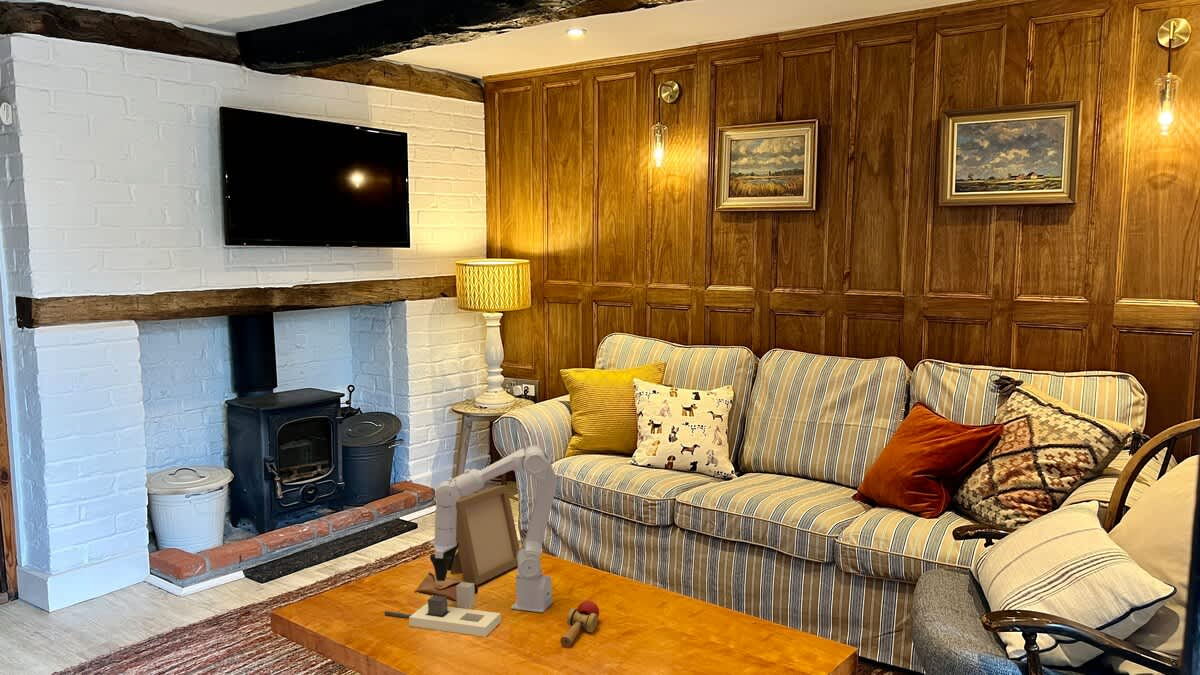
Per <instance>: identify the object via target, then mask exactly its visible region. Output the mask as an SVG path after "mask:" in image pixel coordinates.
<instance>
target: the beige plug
mask: <svg viewBox="0 0 1200 675" xmlns="http://www.w3.org/2000/svg"><path fill="white" fill-rule="evenodd" d="M456 593H457V602H456V607H457V606H458V607H457V608H463V607H466V608H465V609H471V608H473V606H475V605H474V604H476V601H475V599H476V598H475V596H476V594H475V590H474V583H467V582H460V583H459V584H458V585H457V586H456ZM470 607H471V608H470Z"/></svg>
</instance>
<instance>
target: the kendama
mask: <svg viewBox="0 0 1200 675" xmlns="http://www.w3.org/2000/svg"><path fill="white" fill-rule="evenodd" d="M599 616H600V609H599V607H598V604H597V603H595V602H594V601H592V600H584V601H582V602H581V603H579V604H578V606H577V608H573V607H572V608H571V609H570V610H569V612H568V614H567V618H566V625H568V626H569V627H570V628H569V629H568V630H567V631H566V632H565V634H563V636H561V638H560V640H559V642H560V644H561V646H562V647H563V648H570V647H571V646H572V644H573V642H574V640H575V638H576V637H577V635H578V633H579V631H580V629H581V627H582V626H583V627H584V629H585V630H586V632H587V633H591V632H592V631H593V630H594V631H595V629H596V627H597V625H598V618H599ZM594 631H593V632H594ZM593 632H592V633H593Z"/></svg>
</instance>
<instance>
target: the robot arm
mask: <svg viewBox="0 0 1200 675" xmlns="http://www.w3.org/2000/svg"><path fill="white" fill-rule="evenodd" d="M523 469H524V471H525V472H526V473H528V474H529V475H530V476H531V477H533V478H534V479H535V481H536V482H537V483H538V487H537V492H536V495H535V500H534V504H533V508H532V511H531V515H530V519H529V523H528V528H527V530H526V535H525V538H524V540H523V544H522V546H520V547H519V548H520V549H519V551H518V553H517V561H518V565H517V570H516V571H515V589H516V590H515V592H516V593H515V596H516V598H515V599H516V600H515V603H514V604H512V605H511V607H510V609H511V610H512V609H513V610H518V611H527V612H532V613H533V612H534V613H540V614H541V613H544V612H545V611H546V610H547V609H548V608H549V607H550V606H551V605H552V604H553V602H554V600H553V591H552V589H553V588H552V587H553V585H552V584H553V583H552V578H551V576H550V575H546V574H544V573H543V571H542V564H541V554H542V548H543V541H544V538H545V534H546V529H547V526H548V521H549V518H550V513H551V509H552V506H553V502H554V497H555V494H556V490H557V486H558V479H557V475H556V473H555V471H554V469H553V466H552V463H551V460H550V458H549V455H548V454H547V453H546V452H545V450H544V449H543V448H542V446H539V445H536V444H531V445H528V446H526V447H525V448H521V449H518V450H515V451H514V452H512V453H510V454H508V455H507V456H505V457H503V458H501V459H499V460H497V461H495V462H494V463H492V464H490V465H488V466H486V467H484V468H483V469H481V470H479V469H476V468H472V469H470V468H467V469H464V472H463V473H461V474H460V475H458V476H456V477H454V478H453V477H449V478H448V480H445V481H441V482H440V483H439V484H438V485H437V487H436V488H435V489H436V490H435V497H434V498H435V501H436V502H435V511H434V512H435V513H434V516H435V517H434V539H433V540H431V541H429V545H430V546H434V549H435V550H434V551H435V552H434V553H431V554H430V555H429V560H430V562H431V563H432V566H433V569H434V574H435V575H436V578H437V581H445V579H446V577H447V573H448V572H451V569H452V566H453V561H454V557H455V554H456V553H457V552H458V547H459V543H457V542H456V519H457V509H456V501H457V500H459V499H462V498H464V497H467V496H470V495H472V494H474V493H476V492H477V491H479V490H482V489H483V488H484V485H485V483H486V482H487V481H491V480H492V479H494V478H496V477H499V476H501V475H503V474H506V473H508V472H510V471H515V472H518V473H523V472H524V471H523Z"/></svg>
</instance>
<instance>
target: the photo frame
mask: <svg viewBox="0 0 1200 675" xmlns="http://www.w3.org/2000/svg"><path fill="white" fill-rule="evenodd" d="M456 509H457V519H456V542H457V543H459V547H458V549H457V551H456V554H455V557H454V561H453V566H452V569H451V571H450V574H455V573H456V574H457V573H462V577H463V581H468V582H472V583H475V584H476V585H477V586H479V585H481V584H483V583H484V582H486V581H488V580H490V579H493V578H494V577H497V576H499V575H500V574H503V573H504V572H507V571H509V570H511V569H513V568H515V567H518V561H517V553H518V551H519V549H520V548H521V547H520V544H519V540H518V539H519V538H518V534H517V529H516V524H515V519H514V514H513V509H512V505H511V500H510V495H509V490H508V486H507V484H503V485H502V484H501V485H495V486H492V487H490V488H487V489H484V490H481V491H478V492H474V493H472V494H469V495H467V496H465V497H463V498H458V499H457V501H456Z"/></svg>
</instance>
